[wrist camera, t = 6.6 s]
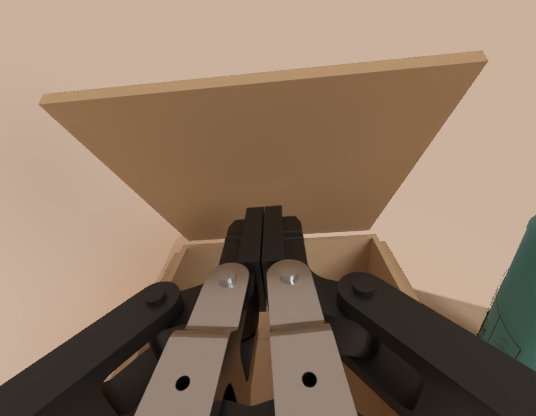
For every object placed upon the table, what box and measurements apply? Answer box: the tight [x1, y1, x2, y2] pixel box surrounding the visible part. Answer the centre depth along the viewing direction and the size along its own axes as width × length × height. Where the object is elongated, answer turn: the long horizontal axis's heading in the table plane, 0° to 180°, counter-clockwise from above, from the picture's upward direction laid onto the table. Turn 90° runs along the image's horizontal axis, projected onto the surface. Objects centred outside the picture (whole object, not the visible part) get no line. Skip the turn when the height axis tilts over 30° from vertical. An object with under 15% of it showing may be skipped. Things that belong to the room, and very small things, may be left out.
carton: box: [111, 234, 421, 416], centre depth 18 cm, size 17×18×13 cm
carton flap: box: [39, 51, 488, 241], centre depth 16 cm, size 15×15×1 cm
